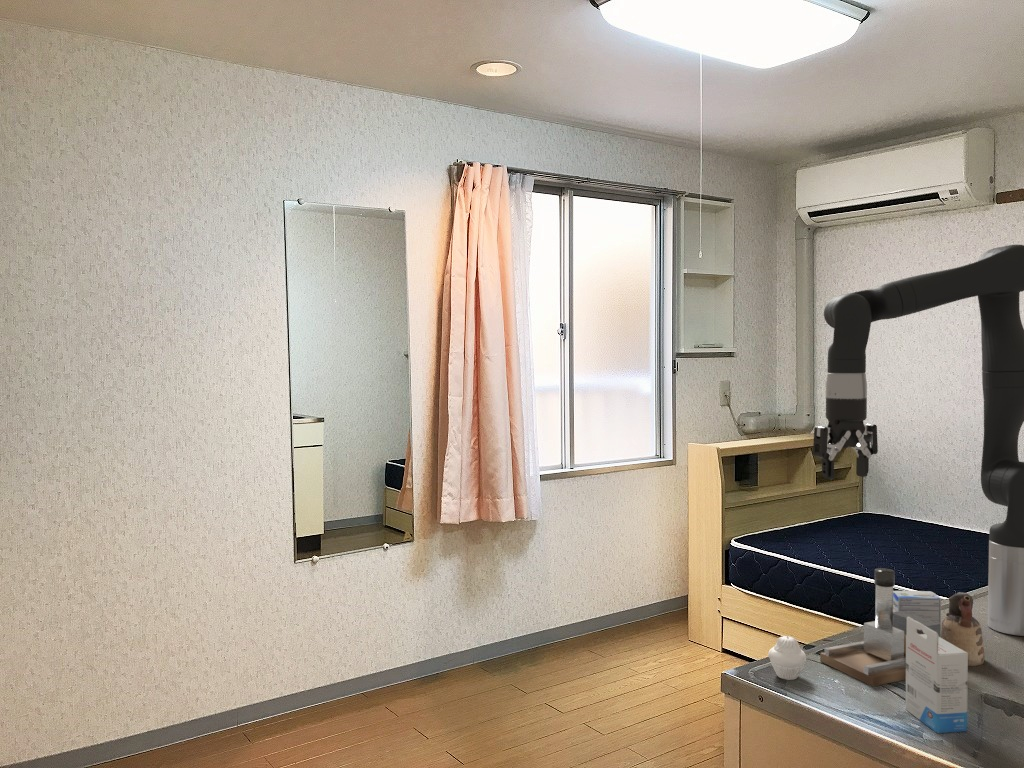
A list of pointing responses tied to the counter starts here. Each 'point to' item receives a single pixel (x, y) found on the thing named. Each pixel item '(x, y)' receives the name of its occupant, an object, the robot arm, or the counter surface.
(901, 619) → the grey metal frame
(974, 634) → the figurine
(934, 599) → the medicine box
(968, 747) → the counter surface
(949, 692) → the ink box
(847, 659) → the wooden tray with rails
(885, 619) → the press handle
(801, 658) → the muffin
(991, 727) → the counter surface
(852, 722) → the counter surface
